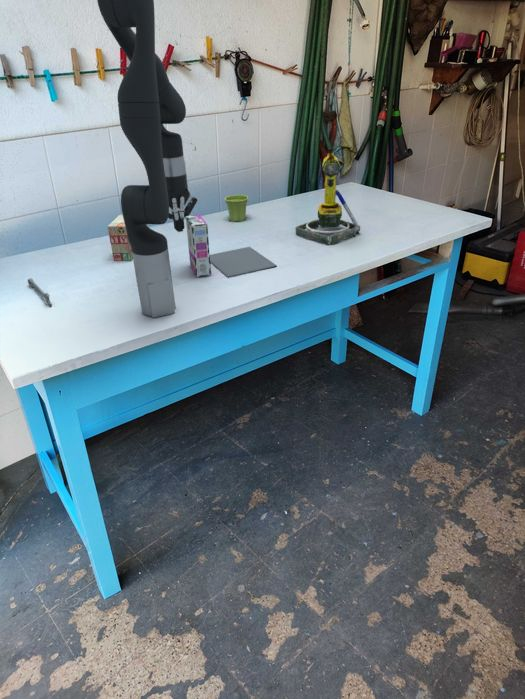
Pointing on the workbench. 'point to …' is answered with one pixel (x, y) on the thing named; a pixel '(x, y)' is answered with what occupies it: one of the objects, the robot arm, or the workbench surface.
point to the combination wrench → (45, 295)
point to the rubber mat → (240, 262)
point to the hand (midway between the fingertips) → (179, 230)
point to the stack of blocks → (119, 240)
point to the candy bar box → (198, 245)
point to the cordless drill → (330, 210)
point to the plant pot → (237, 207)
